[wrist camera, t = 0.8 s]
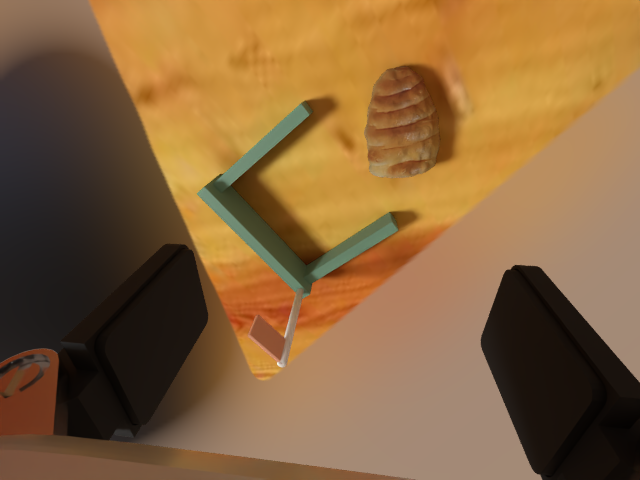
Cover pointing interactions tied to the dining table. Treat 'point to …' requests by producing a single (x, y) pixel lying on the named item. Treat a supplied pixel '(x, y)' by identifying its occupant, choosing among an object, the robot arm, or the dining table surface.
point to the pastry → (401, 125)
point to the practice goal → (273, 246)
